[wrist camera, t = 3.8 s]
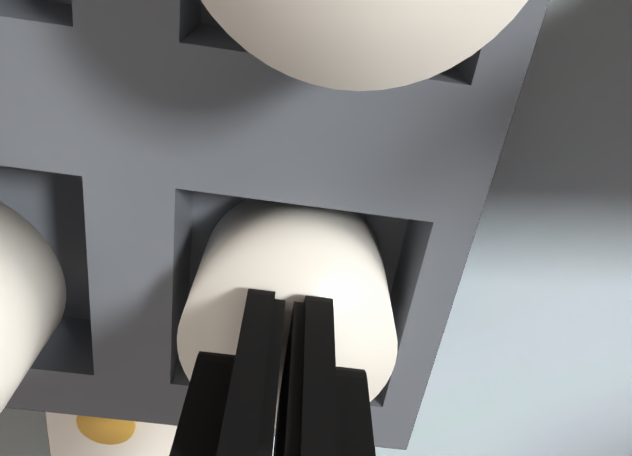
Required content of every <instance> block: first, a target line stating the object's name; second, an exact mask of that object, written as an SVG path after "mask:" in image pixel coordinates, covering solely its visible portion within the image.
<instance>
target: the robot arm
mask: <svg viewBox="0 0 632 456" xmlns="http://www.w3.org/2000/svg"><path fill="white" fill-rule="evenodd" d="M275 293H276V292H274V291H266V290H258V289H248V292H247V298H246V303H245V308H244V313H243V319H242V324H241V329H240V334H239V339H238V345H237V350H236V355H230V354H221V353H212V352H203V351H199V353H198V355H197V358H196V362H195V365H194V369H193V372H192V376H191V379H190V383H189V387H188V390H187V394H186V397H185V401H184V404H183V408H182V412H181V415H180V419H179V422H178V426H177V430H176V433H175V437H174V440H173V444H172V447H171V451H170V455H169V456H272V450H273V439H274V428H275V416H276V405H277V393H278V382H279V370H280V359H281V347H282V336H283V324H284V313H285V300H279V299H275ZM274 456H376V455H375V446H374V436H373V427H372V418H371V408H370V399H369V390H368V380H367V374H366V371H365V370H364V369H355V368H346V367H337V366H336V357H335V332H334V307H333V299H332V298H325V297H316V296H308V295H306V296H305V300H304V302H296V301H294V304H293V310H292V317H291V323H290V330H289V336H288V343H287V349H286V356H285V363H284V369H283V376H282V382H281V389H280V395H279V402H278V410H277V420H276V432H275V444H274Z"/></svg>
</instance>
